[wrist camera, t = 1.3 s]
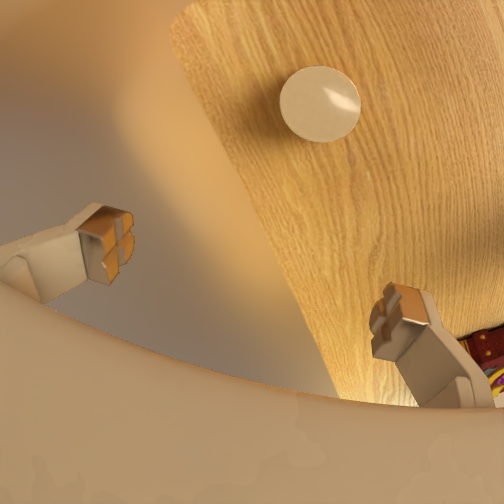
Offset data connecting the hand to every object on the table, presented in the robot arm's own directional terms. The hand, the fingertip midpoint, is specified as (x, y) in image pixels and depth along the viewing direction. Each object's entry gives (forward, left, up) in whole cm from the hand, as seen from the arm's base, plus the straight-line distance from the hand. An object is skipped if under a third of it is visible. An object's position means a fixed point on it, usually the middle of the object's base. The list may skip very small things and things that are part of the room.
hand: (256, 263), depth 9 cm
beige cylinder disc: (-4, +1, -14) cm, 15 cm away
